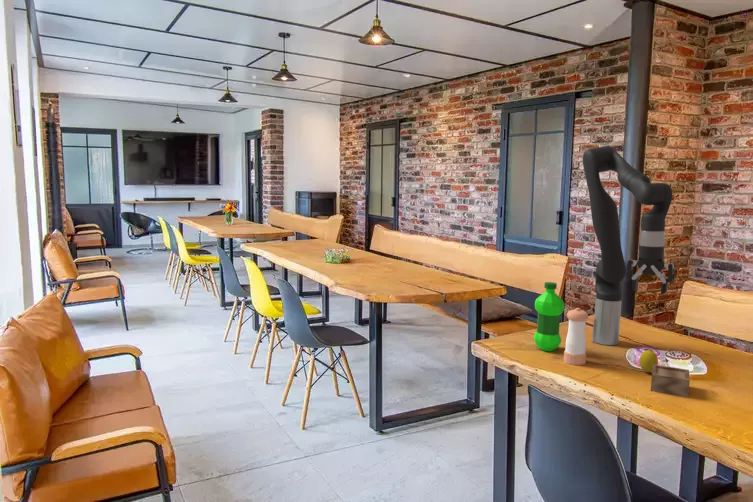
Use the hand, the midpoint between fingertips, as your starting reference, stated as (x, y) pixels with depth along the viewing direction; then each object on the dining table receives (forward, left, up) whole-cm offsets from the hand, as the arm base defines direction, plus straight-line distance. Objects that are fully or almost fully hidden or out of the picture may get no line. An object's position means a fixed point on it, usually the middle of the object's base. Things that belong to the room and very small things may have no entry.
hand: (649, 292), depth 186 cm
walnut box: (+8, -17, -26) cm, 32 cm away
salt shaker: (-21, -5, -26) cm, 34 cm away
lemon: (+2, -5, -26) cm, 27 cm away
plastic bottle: (-32, +5, -26) cm, 42 cm away
